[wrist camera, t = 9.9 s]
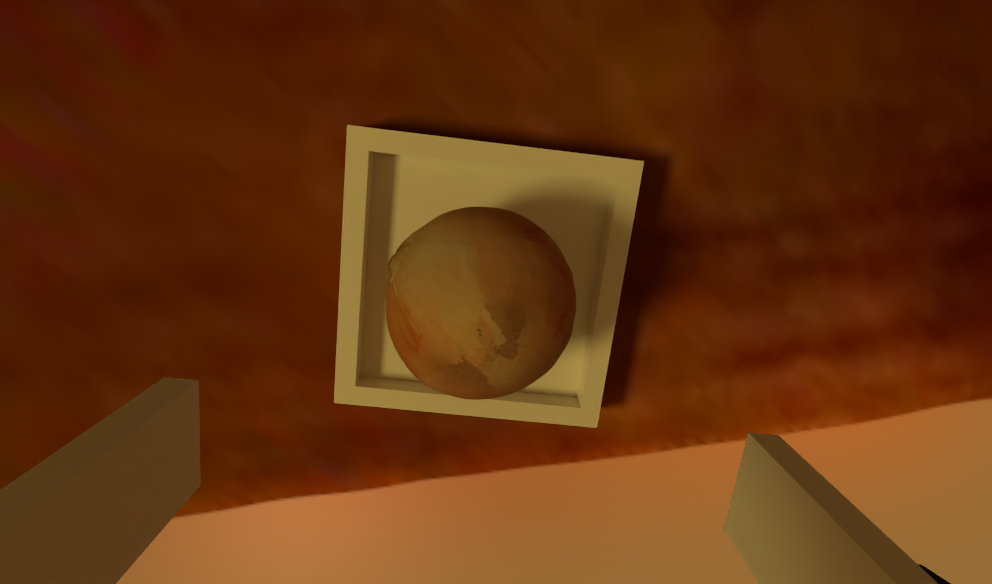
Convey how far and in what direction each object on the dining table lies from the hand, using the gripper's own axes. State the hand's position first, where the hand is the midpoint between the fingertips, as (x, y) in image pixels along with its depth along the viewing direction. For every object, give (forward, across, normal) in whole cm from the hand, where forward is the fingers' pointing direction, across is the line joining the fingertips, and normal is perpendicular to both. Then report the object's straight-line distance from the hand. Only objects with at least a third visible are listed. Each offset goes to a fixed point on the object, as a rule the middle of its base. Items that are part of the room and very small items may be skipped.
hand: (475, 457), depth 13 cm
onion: (+20, 0, 0) cm, 20 cm away
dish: (+21, 0, 0) cm, 21 cm away
